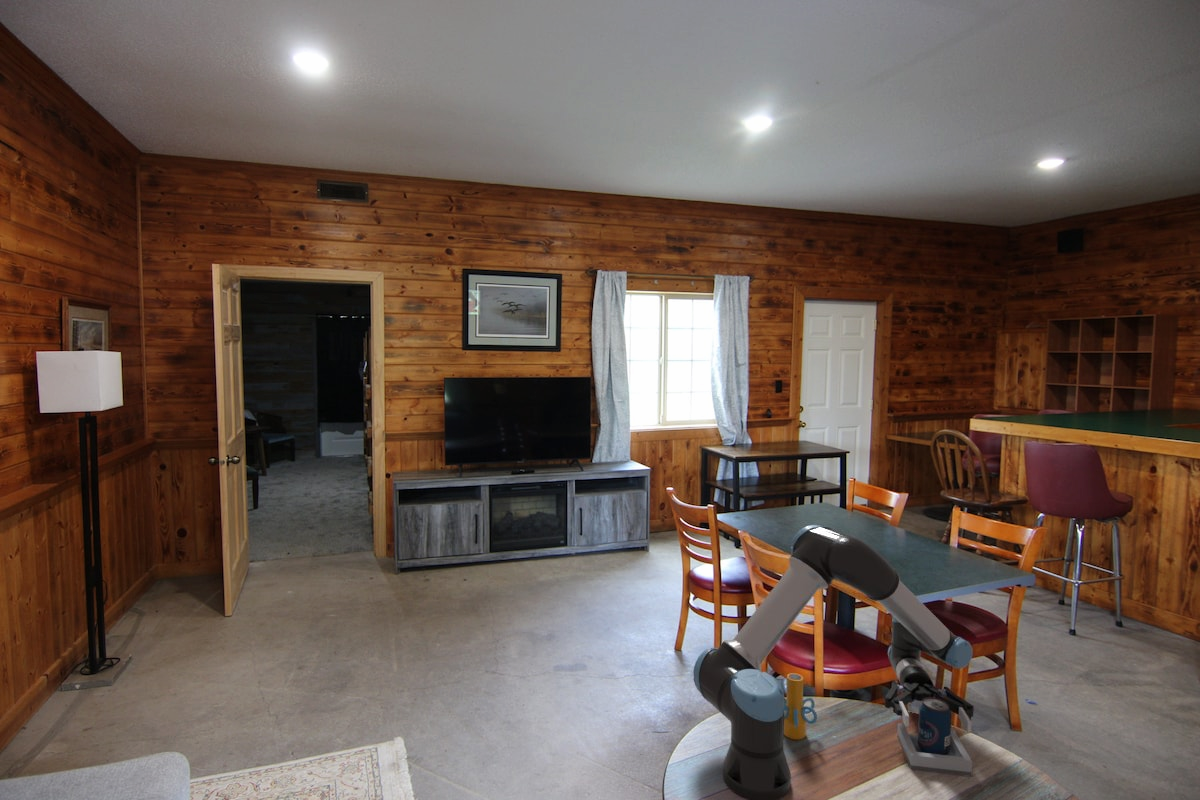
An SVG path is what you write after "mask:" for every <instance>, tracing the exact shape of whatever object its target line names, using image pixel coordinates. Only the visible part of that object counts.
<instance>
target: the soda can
mask: <svg viewBox="0 0 1200 800" xmlns="http://www.w3.org/2000/svg"><path fill="white" fill-rule="evenodd" d="M952 716H953V712H952V711H950V709H949V705H948V704H947V703H946V702H945V701H943V700H941V699H938V698H933V697H927V698H924V699H923V701H921V703H920V704H919V710H918V727H917V729H918V730H917V735H918V745H919V747H920V749H921V751H922V752H923V753H930V754H939V755H947V754H948V753H949V751H950V735H951V729H952V718H953V717H952Z"/></svg>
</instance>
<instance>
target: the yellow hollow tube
mask: <svg viewBox="0 0 1200 800" xmlns="http://www.w3.org/2000/svg"><path fill="white" fill-rule="evenodd" d="M784 701H785V711H784V736H785V737H786V738H788V739H791V740H802V739H804V738H805V737H806V736H807V724H809V725H810V724H812V725H813V724H815V723H817V720H818V715H817V712H816V710H815V700H814V699H813V698H811V697H808V696H807V697H806V698H804V676H802V675H801V674H800V673H795V672H791V673H788V674H787V675H786V696H784ZM807 702H810V703H811V705H810V706H809V705H805V704H806V703H807ZM811 713H812V714H813V719H812V720H811V719H808V718H807V716H806V715H807V714H808V715H809V714H811Z"/></svg>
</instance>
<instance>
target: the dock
mask: <svg viewBox="0 0 1200 800" xmlns="http://www.w3.org/2000/svg"><path fill="white" fill-rule="evenodd" d="M897 739H898V742H899V744H900V746H901V749H902V751H903V754H904V757H905V758H906V761H907V763H908V766H909V769H910V770H913V771H923V772H932V773H937V774H938V773H939V774H948V775H955V776H964V775H966V777H972V773H973V772H972V771H973V761H972V759H971V757H970V755H969V753H968V751H967V750H966V749H965V746H964V745H963V743H962V742H961V740H960V738H959V736H958V734H957V732H956V731H955V729H954V728H951V735H950V751H949V753H948V754H947V755H939V754H930V753H923V752H922V751H921V749H920V747H919V745H918V734H913V733H909V731H908V729H907V727H905V725H904V723H897Z"/></svg>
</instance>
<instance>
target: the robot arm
mask: <svg viewBox="0 0 1200 800" xmlns="http://www.w3.org/2000/svg"><path fill="white" fill-rule="evenodd" d="M790 552H791V553H790V554H791V555H790V556H789V558H788V563H789V567H788V569H787V570H786V571H785V573H784V574H783V575H782V576H781V578H780V580H779V581H777V583H776V584H775V585H774V587H773V588H772V589H771V591H769V593H768V594H767V596H765V598H764V600H763V601H762V602H761V603H760V605H759V606H758V608H756V610H754V613H752V615H751V616H750V617H749V618H748V619H747V621H746V623H745V624H744V625H743V626H742V628H741V629H740V630H739V631H738V633H737V634H736V635H735V637H734V638H733V639H731V640H730V639H729V640H724V641H722V643H721V644H720V645H719V647H710V649H709V648H707V649H705V650H703V652H701V654H699V656H698V657H697V658H696V660H695V663H694V665H693V672H692V673H693V683H694V686H695V687H696V689H697V691H698V692H699V693H700V694H701V696H702V697H703V698H704V699H705V700H706V701H707V702H708V703H710V704H711V705H712V706H713V707H714V708H715V709H716V710H717V711H719V712H720V713H721V714H722V715H723V716H724V717H725V718H726V719H727V720H728V721H729V722H730V745H729V747H728V748H727V749H728V750H727V753H726V755H725V758H724V761H723V765H722V777H723V781H724V783H725V784H726V786H727V787H728V788H729V790H731V791H732V792H733V793H735V794H737V795H738V796H740V797H742V798H745V799H748V800H779V799H781V798H783V797H784V796H786V795H787V794H788V793H789V791H790V789H791V785H792V783H791V782H792V776H791V770H790V767H789V764H788V759H787V758H786V755H785V750H784V736H785V735H784V712H785V701H784V697H785V693H784V689H783V687H782V685H781V683H780V681H778V680H777V678H776V677H775V676H773V675H772V674H770V673H768V672H766V671H762V663H763V662H764V661H765V660H766V658H767V657H768V655H769V654H771V651H772V650H773V649H774V648H775V646H776V645H777V644H778V643H779V641H780V640H781V638H782V637H783V636H784V635H785V633H786V632H787V631H788V629H789V628H790V627H791V625H792V624H793V623H794V622H795V620H796V619H797V618H798V616H799V615H800V614H801V612H802V611H803V610H804V609H805V607H806V606H807V605H808V603H809V602H810V601H811V600H812V598H813V597H814V595H815V594H816V592H818V591H819V590H827V588H829V587H830V586H831V584H832V582H833V581H834V580H835V581H838V582H839V583H841V584H844V585H847V586H849V587H851V588H853V589H855V590H856V591H858V592H860V593H862V594H863V595H865V597H866V598H868V599H869V600H871V601H874V602H878V603H879V604H880V605H881V606H882V607H883V608H884V609H885V610H886V611H887V612H888V613H889V614H890V615H891V616H892V620H891V645H889V647H888V649H887V655H888V661H889V663H890V665H891V667H892V669H893V671H894V672H895V675H896V676H897V679H898V680H899V683H900V685H899V684H898V683H897V682H896V681H892V682H891V688H890V689H889V690H888V692H887V694H886V695H885V697H884V707H885V708H886V709H890V708H892V712H893V713H894V714H895V715H897V716H900V718H901V719H902V722H903V724H904V725H905V727H906V728H909V726H910V715H909V712H908V711H907V708H906V705H908V704H909V703H911V704H912V703H914V702H915V701H917V702H923V699H924V698H927V697H933V698H938V699H941V700H943V701H945V702H946V703H947V704H948V705H949V709H950V711H951V713H953V714H956V715H958V720H959V721H960V723H961V725H962V726H963V727H964V729H965V731H966V733H967V734H972V717H974V709H975V708H974V707H975V706H973V704H971V703H970V702H968V701H967V700H965V699H963V698H962V697H961V696H960V695H957V694H956V693H954V692H953V691H952V690H951V689H950V688H949V687H948V686H943V689H940V688H937V687H936V686H934V682H933V681H932V679H931V677H930V675H929V673H928V672H927V669H926V668H925V666H924V665H923V663H922V661H921V653H922V652H924V653H925V654H928V655H930V656H932V657H933V658H935V659H937V660H939V661H941V662H942V663H945V664H946V665H947V666H951V667H953V668H955V669H964V668H966V667H967V666H968V665H969V664H970V662H971V660H972V658H973V647H972V645H971V643H970V641H967V640H965V639H964V638H963V637H961V636H957V635H956V634H954V633H953V632H952V631H951V630H950V629H949V628H947V626H946V625H944V624H943V623H942V621H941V620H940V619H939V618H938V617H936V615H934V613H932V611H931V610H929V608H927V607H926V605H925V604H924V603H923V602H922V601H920V599H919V598H918V597H916V595H914V593H913V592H912V591H911V590H910V589H909V588H908V587H907V586H906V585H905V584H904V583H903V582H902V581H901V580H900V579H901V578H900V575H899V573H898V571H897V570H896V569H895V568H894V567H893V566H892V565H891V564H890V563H889V562H888V561H887V560H886V559H885V558H884V557H883V556H882V555H881V554H879V552H877V551H876V550H875V549H874V548H872V546H870V545H869V544H867V542H865V541H863V540H862V539H860V538H858V537H854V536H852V535H849V534H846V533H843V532H841V531H837V530H835V529H833V528H831V527H829V526H825V525H824V526H823V525H819V524H810V525H806V526H804V527H802V528H801V529H799V531H798V532H796V533H795V535H794V536H793V538H792V540H791V546H790ZM921 651H922V652H921ZM901 692H902V693H901ZM900 693H901V694H900Z"/></svg>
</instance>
